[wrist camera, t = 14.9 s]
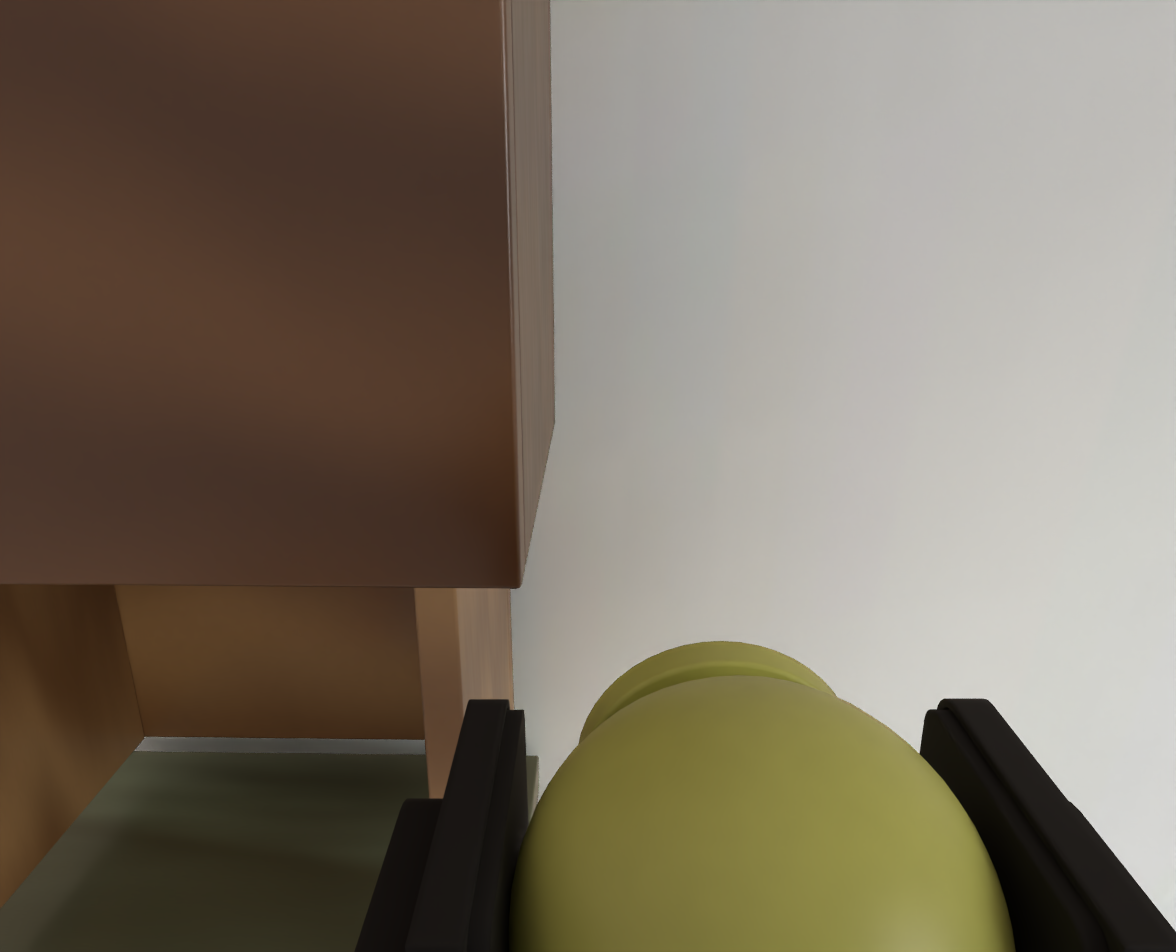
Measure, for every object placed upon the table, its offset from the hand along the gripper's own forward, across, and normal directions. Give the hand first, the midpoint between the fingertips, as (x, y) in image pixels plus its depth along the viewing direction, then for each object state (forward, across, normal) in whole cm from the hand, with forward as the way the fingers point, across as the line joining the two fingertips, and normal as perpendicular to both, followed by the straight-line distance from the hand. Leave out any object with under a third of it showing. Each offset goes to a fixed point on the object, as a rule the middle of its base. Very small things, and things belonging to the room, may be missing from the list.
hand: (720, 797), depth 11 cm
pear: (+1, 0, 0) cm, 1 cm away
